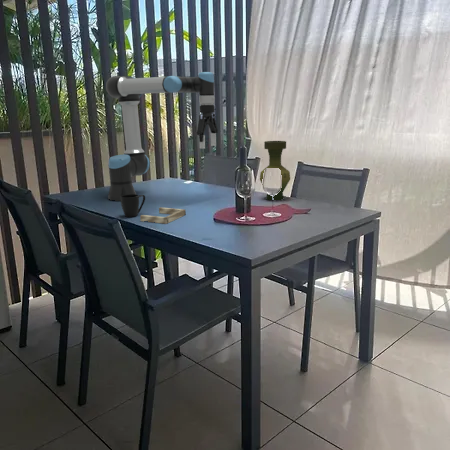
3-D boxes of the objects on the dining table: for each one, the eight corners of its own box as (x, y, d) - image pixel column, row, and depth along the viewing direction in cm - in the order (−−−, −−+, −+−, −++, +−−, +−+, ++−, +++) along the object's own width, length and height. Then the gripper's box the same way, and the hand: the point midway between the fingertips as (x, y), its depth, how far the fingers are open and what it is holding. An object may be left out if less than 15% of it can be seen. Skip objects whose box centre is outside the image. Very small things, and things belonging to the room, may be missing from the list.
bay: (140, 221, 198) (140, 215, 198) (160, 212, 213) (160, 207, 213) (166, 223, 193) (166, 218, 192) (185, 214, 208) (185, 209, 207)
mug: (150, 214, 210) (149, 194, 207) (127, 219, 203) (125, 198, 200) (141, 211, 216) (140, 192, 214) (119, 215, 209) (117, 195, 206)
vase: (294, 196, 241) (295, 140, 233) (285, 203, 227) (286, 143, 219) (265, 194, 248) (265, 140, 240) (254, 200, 234) (254, 142, 226)
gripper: (202, 104, 213) (204, 149, 218) (223, 104, 235) (224, 144, 240) (188, 105, 215) (190, 149, 221) (210, 104, 238) (211, 144, 243)
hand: (208, 147), depth 231 cm, fingers open, 13 cm apart
